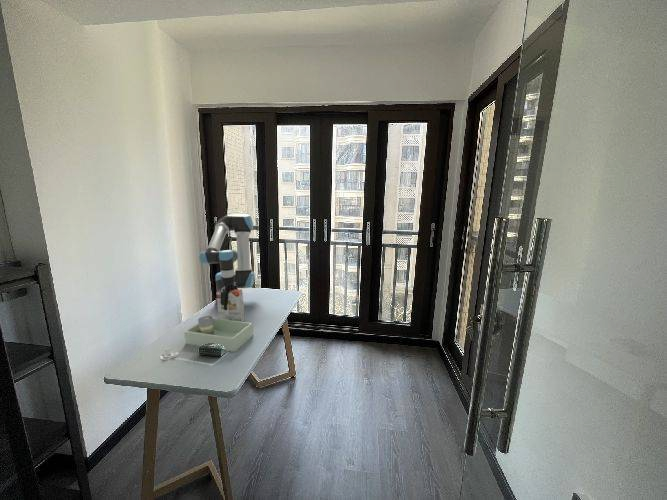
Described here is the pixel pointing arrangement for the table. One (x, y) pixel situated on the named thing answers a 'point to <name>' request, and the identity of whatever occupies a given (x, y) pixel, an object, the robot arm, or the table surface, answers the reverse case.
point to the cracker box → (232, 306)
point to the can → (206, 325)
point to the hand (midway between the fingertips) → (231, 311)
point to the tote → (221, 334)
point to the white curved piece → (169, 353)
